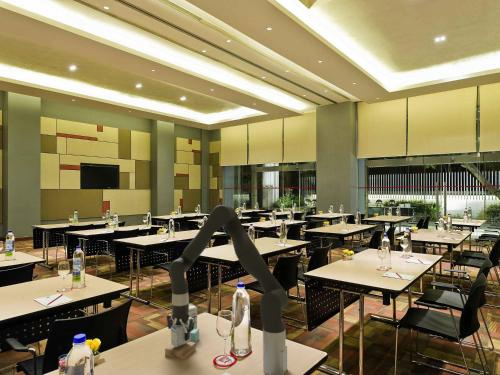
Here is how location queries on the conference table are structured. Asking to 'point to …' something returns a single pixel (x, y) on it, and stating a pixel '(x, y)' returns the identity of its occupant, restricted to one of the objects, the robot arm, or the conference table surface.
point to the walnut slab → (180, 350)
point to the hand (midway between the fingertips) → (180, 339)
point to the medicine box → (178, 335)
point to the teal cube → (194, 335)
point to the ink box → (193, 314)
